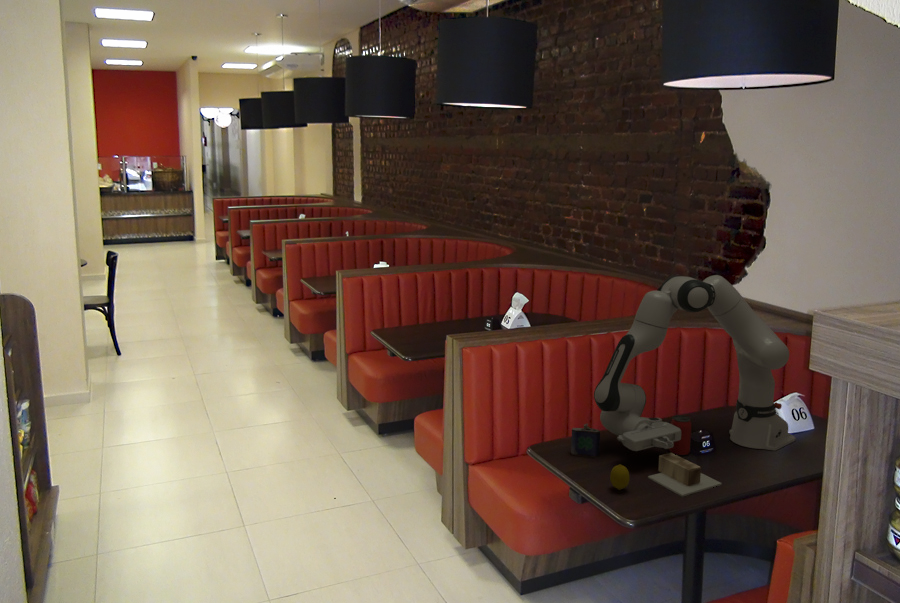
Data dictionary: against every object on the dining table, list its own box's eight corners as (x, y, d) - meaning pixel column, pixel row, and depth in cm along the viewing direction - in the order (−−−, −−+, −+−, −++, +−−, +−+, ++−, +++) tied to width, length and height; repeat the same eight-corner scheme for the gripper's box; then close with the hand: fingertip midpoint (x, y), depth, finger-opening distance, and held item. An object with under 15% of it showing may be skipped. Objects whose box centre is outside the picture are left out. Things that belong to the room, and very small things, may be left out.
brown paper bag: (671, 452, 222) (701, 467, 212) (670, 467, 223) (700, 483, 213) (659, 455, 220) (689, 470, 209) (658, 470, 221) (688, 486, 210)
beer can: (690, 456, 233) (693, 422, 230) (670, 455, 234) (672, 420, 232) (688, 449, 239) (690, 415, 237) (668, 447, 240) (670, 413, 238)
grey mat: (686, 467, 225) (686, 465, 225) (721, 485, 213) (721, 483, 212) (648, 478, 218) (648, 476, 217) (682, 496, 205) (682, 494, 205)
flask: (570, 455, 235) (571, 424, 232) (571, 451, 237) (572, 421, 235) (599, 458, 232) (600, 427, 230) (599, 454, 235) (600, 423, 233)
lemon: (615, 495, 207) (616, 469, 205) (606, 487, 212) (607, 461, 210) (632, 492, 208) (633, 467, 206) (622, 484, 213) (624, 459, 212)
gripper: (614, 427, 226) (644, 442, 214) (662, 416, 235) (694, 430, 223) (613, 446, 227) (643, 462, 215) (661, 434, 236) (693, 449, 224)
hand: (670, 445), depth 219 cm, fingers closed
